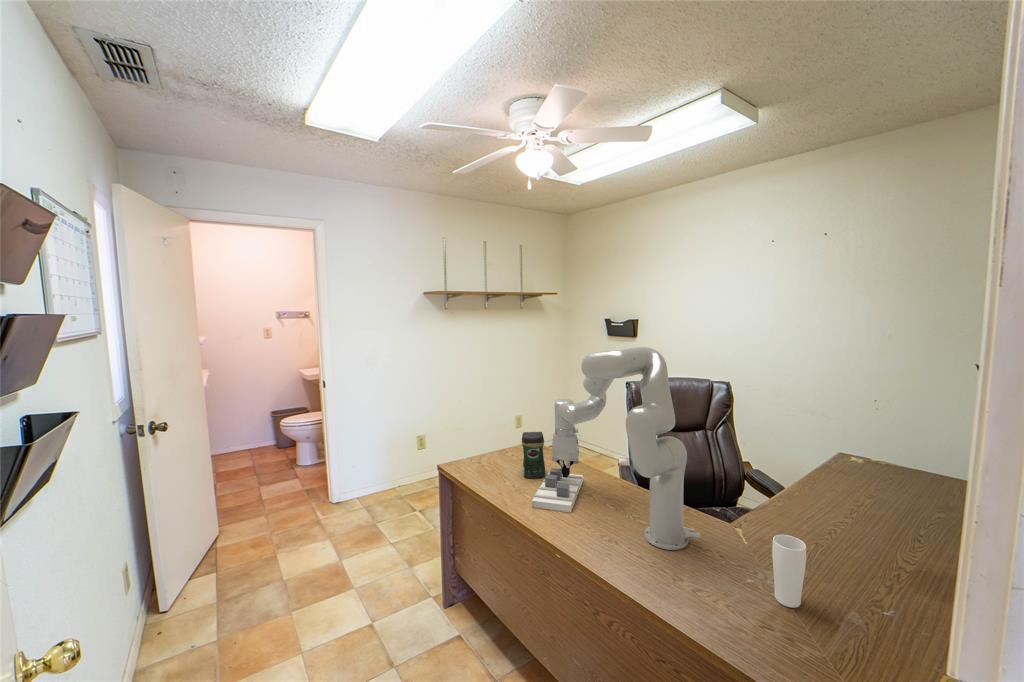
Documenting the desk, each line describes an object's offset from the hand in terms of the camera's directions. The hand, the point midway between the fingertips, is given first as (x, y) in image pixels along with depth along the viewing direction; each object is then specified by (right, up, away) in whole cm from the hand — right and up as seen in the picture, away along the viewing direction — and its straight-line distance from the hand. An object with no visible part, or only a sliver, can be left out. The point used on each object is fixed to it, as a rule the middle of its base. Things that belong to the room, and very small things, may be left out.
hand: (565, 476), depth 167 cm
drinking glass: (+45, -9, -65) cm, 80 cm away
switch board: (-3, -5, -5) cm, 8 cm away
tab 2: (-6, -2, -5) cm, 8 cm away
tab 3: (-3, -3, -13) cm, 13 cm away
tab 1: (-4, -1, +1) cm, 4 cm away
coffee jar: (-12, -4, +12) cm, 18 cm away
